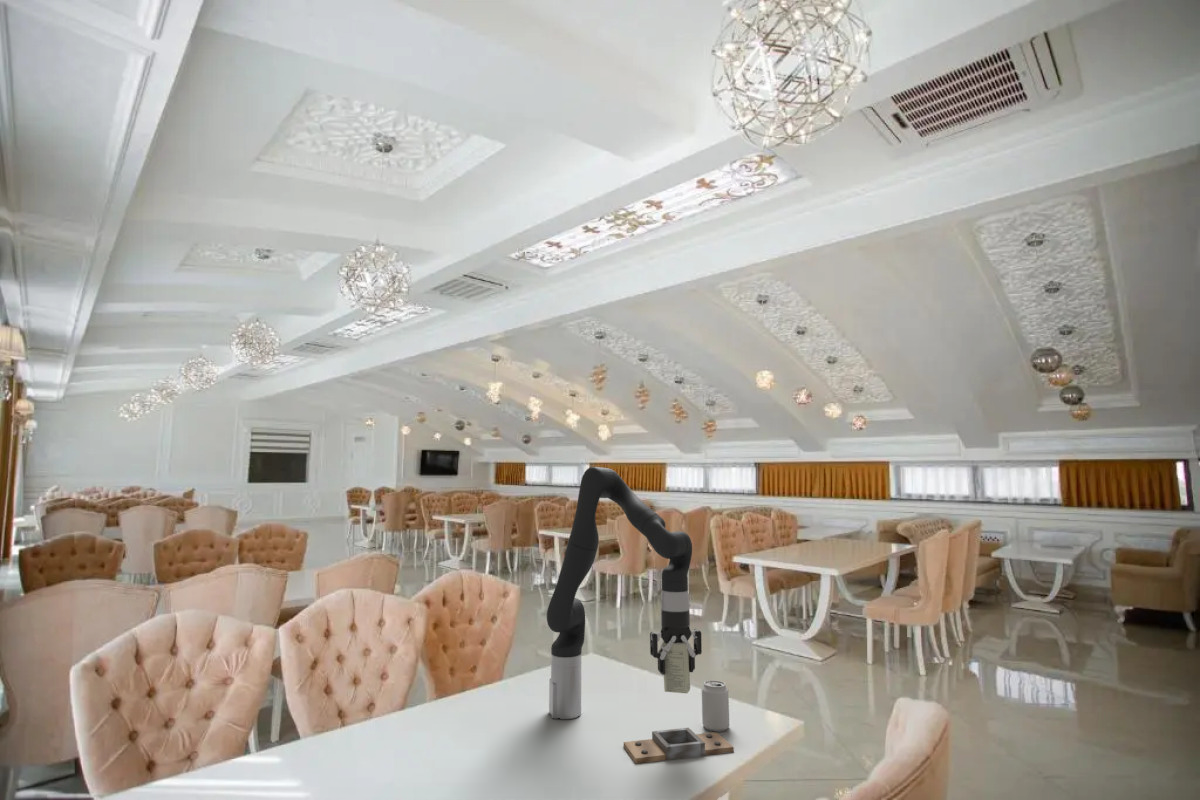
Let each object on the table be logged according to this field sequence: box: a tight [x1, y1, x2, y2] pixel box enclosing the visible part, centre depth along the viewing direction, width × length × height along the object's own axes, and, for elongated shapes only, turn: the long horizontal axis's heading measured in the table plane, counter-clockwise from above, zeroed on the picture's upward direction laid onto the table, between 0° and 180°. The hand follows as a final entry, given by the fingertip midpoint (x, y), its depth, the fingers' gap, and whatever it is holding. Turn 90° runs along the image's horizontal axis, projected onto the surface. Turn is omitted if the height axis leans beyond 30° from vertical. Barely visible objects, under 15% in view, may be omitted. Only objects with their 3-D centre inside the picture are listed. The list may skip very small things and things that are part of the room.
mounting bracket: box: [623, 727, 735, 764], centre depth 154 cm, size 26×10×3 cm, turn 105°
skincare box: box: [662, 641, 691, 694], centre depth 157 cm, size 6×4×12 cm
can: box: [701, 679, 730, 733], centre depth 169 cm, size 8×8×12 cm
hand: (676, 672), depth 157 cm, fingers closed on skincare box, 7 cm apart
